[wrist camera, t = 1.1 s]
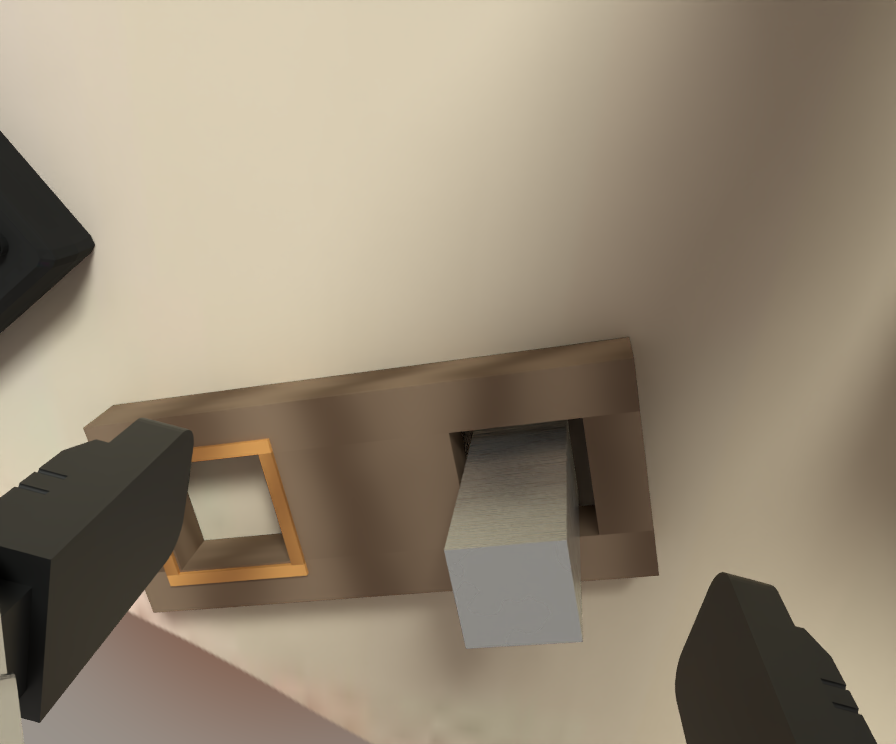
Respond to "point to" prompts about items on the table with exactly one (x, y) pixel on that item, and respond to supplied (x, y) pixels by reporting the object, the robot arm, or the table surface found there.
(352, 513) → the hole board
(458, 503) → the steel peg
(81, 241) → the multimeter
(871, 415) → the table surface
